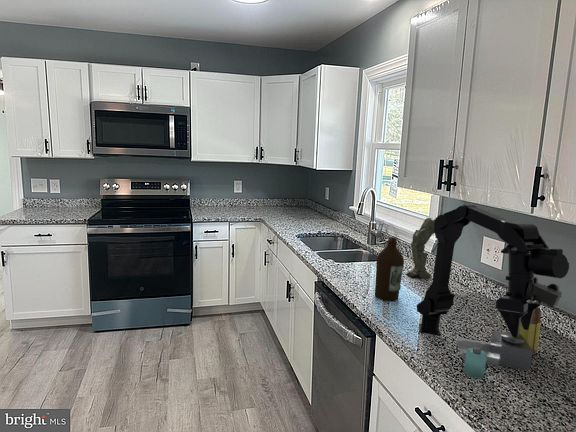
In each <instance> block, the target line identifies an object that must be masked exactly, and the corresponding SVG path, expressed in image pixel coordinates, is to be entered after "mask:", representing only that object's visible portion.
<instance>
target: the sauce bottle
mask: <svg viewBox="0 0 576 432" xmlns="http://www.w3.org/2000/svg"><path fill="white" fill-rule="evenodd" d="M536 302H537V303H539V301H538V300H536ZM539 307H540V306H539ZM539 307H538V308H536V309H535V311H534V314H533V317H532V320H531V323H530V327H529V330H524V329H523V326H522V323H521V322H520V327H519V332H518V335H522V337H523V338H524V339H525V341H526V342H527V343H528V345H529V346H530V347H531V348H532V350H533V354H532V356H534V355H537V352H538V349H539V342H540V341H539V340H540V330H541V324H542V323H541V320H542V319H541V318H542V313H541V309H540V308H539Z"/></svg>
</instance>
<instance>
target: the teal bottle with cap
mask: <svg viewBox="0 0 576 432" xmlns="http://www.w3.org/2000/svg"><path fill="white" fill-rule="evenodd" d="M486 358H487V354H486V353H485V352H484V351H482V350H481V349H480V348H477V347H474V348H468V349H467V350H466V358H465V360H464V367H463V372H464V374H465V375H467V376H468V377H471V378H473V379H474V378H475V379H482V378H484V377H485V372H486V371H485V370H486V364H487V363H486Z"/></svg>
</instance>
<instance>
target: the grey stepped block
mask: <svg viewBox="0 0 576 432" xmlns="http://www.w3.org/2000/svg"><path fill="white" fill-rule="evenodd" d="M491 332H492V333H491V339H490V342H486V341H481V340H473V339H467V338H462V337H461V338H460V337H457V341H456V345H457V348H458V350H459V352H460V356H461V358H462V360H463V361H465V358H466V350H467V349H468V348H474V347H477V348H480V349H481V350H482V351H484V352H485V353H486V354H487V358H486V364H489V365H493V366H495V365H496V366H500V367H507V368H512V369H519V370H523V371H524V370H525V371H530V370H531V365H532V359H533V355H532V354H533V350H532V348H531V347H530V346H529V345H528V343H527V342H526V341H525V339H524V338H523V337H522V335H518V337H517V338H516V337H512V335H511V333H510V331H509V332H508V331H507V332H505V331H496V330H492V331H491Z"/></svg>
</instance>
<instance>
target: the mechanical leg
mask: <svg viewBox="0 0 576 432" xmlns="http://www.w3.org/2000/svg"><path fill="white" fill-rule="evenodd" d="M435 219H436V218H434V219H432V217H431V218H430V217H426V218H425V219H424V220H423V222H422V224H421V225H420V228H419V229H416V230H415V231H414V233H413V234H412V241H411V242H410V248H411V253H412V259H413V262H412V263H413V265H414V267H413V269H412V270H411V271H408V272H406V274H405V275H406V276H407V277H409V278H411V279H428V278H430V279H431V278H432V277H431V276H432V274H431V273H429V271H427V268H426V265H427V261H428V255H429V254H428V253H427V252H425V248H426V244H427V243H428V242H429V240H430V238H431V237H432V236H433V235H435V233H434V221H435Z"/></svg>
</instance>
